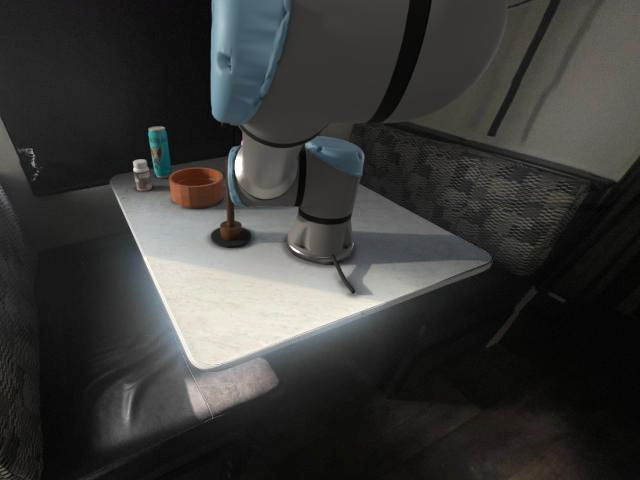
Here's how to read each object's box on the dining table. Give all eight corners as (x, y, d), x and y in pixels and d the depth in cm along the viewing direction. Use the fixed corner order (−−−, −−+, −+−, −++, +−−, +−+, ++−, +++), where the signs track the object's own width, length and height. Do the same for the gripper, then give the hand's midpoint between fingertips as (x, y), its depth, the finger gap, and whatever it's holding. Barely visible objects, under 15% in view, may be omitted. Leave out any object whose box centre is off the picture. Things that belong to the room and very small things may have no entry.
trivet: (251, 248, 79) (251, 246, 78) (209, 247, 79) (209, 245, 78) (251, 227, 86) (251, 225, 86) (212, 227, 86) (212, 225, 86)
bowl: (222, 209, 94) (221, 187, 90) (167, 209, 95) (164, 186, 91) (225, 188, 106) (224, 167, 102) (176, 188, 107) (173, 167, 102)
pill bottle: (136, 186, 108) (130, 159, 102) (150, 184, 109) (146, 157, 103) (138, 191, 104) (132, 164, 99) (153, 189, 106) (148, 162, 100)
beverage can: (152, 177, 113) (144, 129, 104) (160, 172, 118) (152, 125, 108) (167, 179, 112) (160, 131, 102) (174, 173, 116) (168, 126, 107)
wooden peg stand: (241, 240, 80) (241, 163, 68) (219, 240, 80) (216, 163, 68) (241, 230, 84) (242, 156, 72) (221, 230, 84) (218, 155, 72)
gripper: (322, 60, 72) (304, 138, 92) (208, 58, 73) (214, 135, 93) (324, 85, 70) (305, 159, 90) (206, 82, 70) (213, 157, 90)
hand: (259, 147), depth 91 cm, fingers open, 13 cm apart
